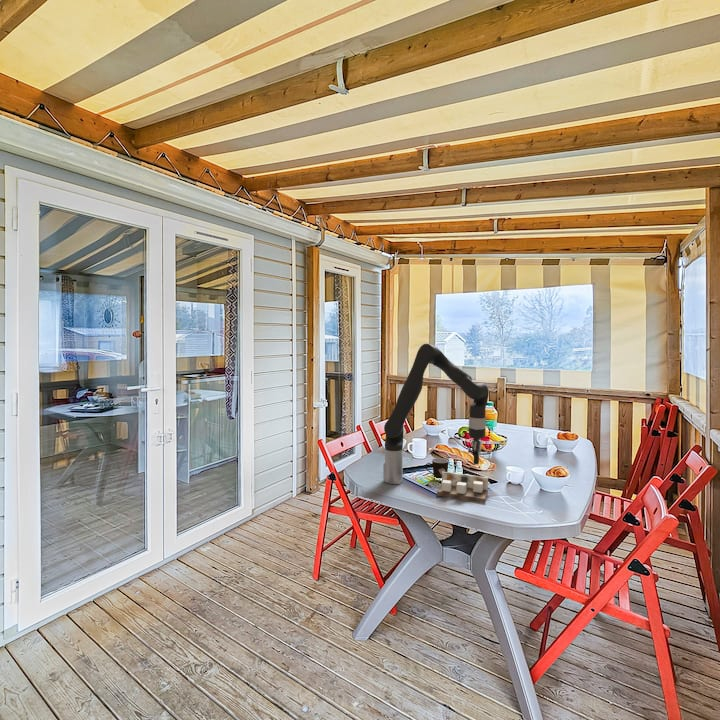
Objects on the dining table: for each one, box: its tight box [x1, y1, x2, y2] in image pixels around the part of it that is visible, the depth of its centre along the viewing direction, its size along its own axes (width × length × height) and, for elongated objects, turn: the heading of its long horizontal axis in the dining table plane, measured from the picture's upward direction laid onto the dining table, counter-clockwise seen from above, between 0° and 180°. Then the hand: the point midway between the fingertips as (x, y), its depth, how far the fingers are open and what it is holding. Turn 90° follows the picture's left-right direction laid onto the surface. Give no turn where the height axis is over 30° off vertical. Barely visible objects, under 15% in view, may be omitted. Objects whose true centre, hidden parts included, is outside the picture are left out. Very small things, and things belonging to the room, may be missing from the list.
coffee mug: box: [424, 457, 449, 478], centre depth 220 cm, size 12×9×10 cm
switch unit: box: [436, 471, 489, 504], centre depth 198 cm, size 22×12×8 cm, turn 67°
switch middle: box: [456, 482, 467, 494], centre depth 195 cm, size 4×4×4 cm
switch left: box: [441, 480, 452, 492], centre depth 198 cm, size 4×4×4 cm
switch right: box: [473, 481, 483, 493], centre depth 197 cm, size 4×4×4 cm
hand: (476, 463), depth 192 cm, fingers closed
